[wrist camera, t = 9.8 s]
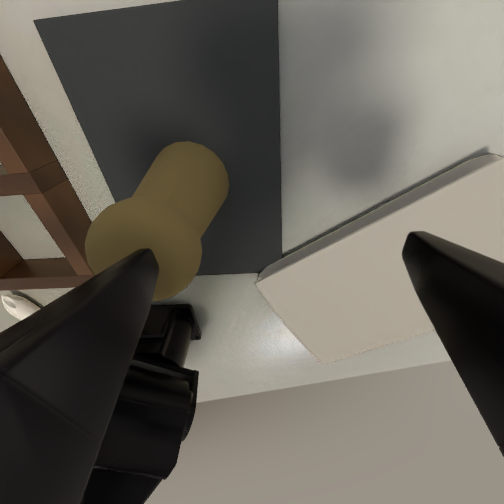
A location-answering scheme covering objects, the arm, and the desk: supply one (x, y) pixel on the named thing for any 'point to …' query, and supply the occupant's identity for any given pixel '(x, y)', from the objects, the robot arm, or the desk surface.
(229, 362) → the desk surface
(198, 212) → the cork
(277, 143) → the mat
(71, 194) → the brown wooden frame
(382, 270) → the book
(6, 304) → the white rod
